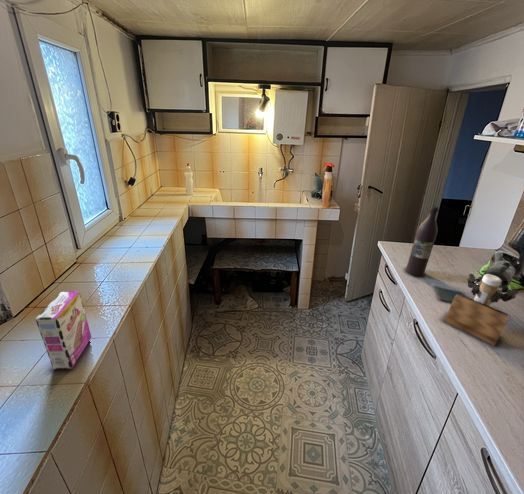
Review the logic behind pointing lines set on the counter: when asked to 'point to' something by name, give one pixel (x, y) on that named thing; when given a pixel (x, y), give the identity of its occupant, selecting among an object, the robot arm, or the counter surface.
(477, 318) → the magnetic knife rack
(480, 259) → the counter surface
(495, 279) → the sprinkles bottle
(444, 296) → the mat
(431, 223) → the wine bottle
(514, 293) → the robot arm
